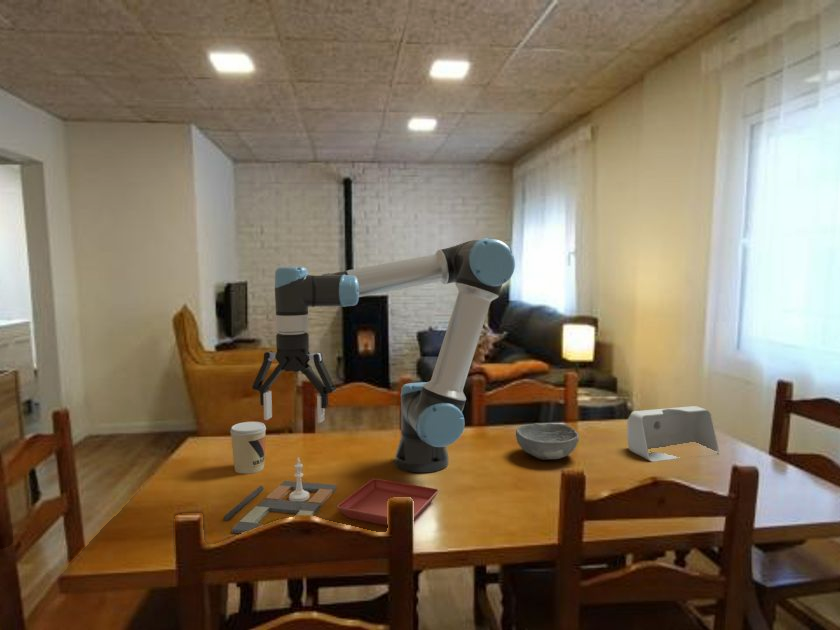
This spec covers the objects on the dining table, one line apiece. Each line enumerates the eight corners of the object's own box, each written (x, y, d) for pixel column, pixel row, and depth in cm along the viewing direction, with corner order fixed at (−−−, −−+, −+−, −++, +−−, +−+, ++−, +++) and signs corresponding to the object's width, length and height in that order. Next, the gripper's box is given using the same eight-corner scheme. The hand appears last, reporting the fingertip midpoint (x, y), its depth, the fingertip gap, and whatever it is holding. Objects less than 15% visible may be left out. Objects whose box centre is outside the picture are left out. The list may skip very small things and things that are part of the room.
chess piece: (291, 503, 129) (290, 462, 128) (286, 495, 133) (285, 455, 132) (312, 499, 131) (311, 459, 130) (306, 491, 135) (305, 452, 134)
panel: (336, 487, 138) (336, 484, 138) (294, 538, 112) (294, 534, 112) (284, 483, 140) (284, 480, 140) (231, 532, 115) (231, 528, 115)
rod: (259, 489, 137) (259, 484, 137) (264, 489, 137) (264, 485, 136) (223, 521, 120) (222, 515, 120) (228, 521, 120) (227, 516, 120)
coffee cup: (256, 476, 145) (255, 432, 144) (224, 473, 147) (223, 430, 146) (273, 463, 154) (272, 422, 153) (242, 461, 156) (241, 420, 155)
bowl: (509, 462, 155) (509, 435, 155) (522, 443, 172) (522, 418, 171) (574, 471, 149) (575, 443, 148) (581, 451, 165) (582, 425, 164)
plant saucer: (373, 489, 138) (372, 476, 137) (440, 501, 131) (440, 488, 130) (335, 520, 121) (335, 506, 121) (409, 536, 114) (409, 521, 114)
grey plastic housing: (680, 437, 178) (682, 400, 177) (720, 454, 163) (722, 413, 161) (614, 444, 171) (615, 405, 170) (649, 462, 156) (650, 419, 155)
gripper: (347, 331, 131) (349, 418, 133) (251, 329, 135) (254, 413, 137) (337, 335, 123) (338, 427, 125) (235, 333, 128) (238, 421, 130)
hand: (294, 420), depth 131 cm, fingers open, 13 cm apart
